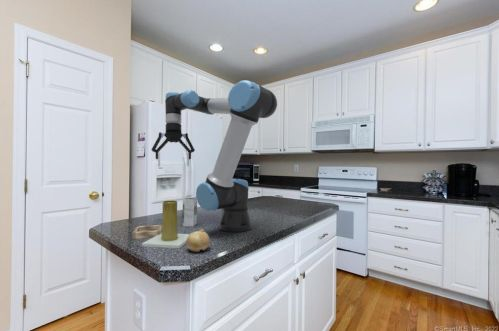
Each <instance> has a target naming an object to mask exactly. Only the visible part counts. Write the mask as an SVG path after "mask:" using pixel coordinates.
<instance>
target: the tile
mask: <svg viewBox="0 0 499 331" xmlns="http://www.w3.org/2000/svg"><path fill="white" fill-rule="evenodd" d="M190 234H191V233H189V234H188V233H178V238H177V239H176V240H172V241H163V240H162V239H161V236H162V233H161V235H157V236H155V237H153V238H148V239H147V240H146V241H144V242H142V243H141V247H145V248H146V247H147V248H148V247H149V248H150V247H151V248H163V249H164V248H165V249H180V248H181V247H183V246H184V245H186V244H187V243H186V240H187V238H188V236H189V235H190Z"/></svg>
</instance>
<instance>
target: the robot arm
mask: <svg viewBox="0 0 499 331" xmlns="http://www.w3.org/2000/svg"><path fill="white" fill-rule="evenodd" d="M164 103H165V104H164V105H165V123H166V124H165V132H164V133H162V132H159V133H158V136H157V138H156V141H155V142H154V144H153V146H152V148H151V151H152V152H153V153H155V159H156V160H157V163H158V164H157V166H158V167H161V152H160V151H161V150H162V149H163V148H164V147H165V146H166V145H167V144H168V143H175V144H176V143H179V144H180V145H181V146H182V147H183V149H185V151H186V166H187V167H189V166H190V160H191V159H192V153H194V152H195V151H196V150H195V148H194V146H193V144H192V142H191V140H190V138H189V133H182V111H184V110H192V111H193V112H199V113H202V114H206V115H214V114H222V115H223V114H224V115H229V116H231V119H230V122H229V125H228V127H227V130H226V134H225V136H224V139H223V142H222V145H221V146H220V150H219V153H218V156H217V159H216V162H215V164H214V168H213V171H212V172H211V173H209V174H207V177H206V179H205V181H204V182H202V183H200V184H199V185H197V188H196V192H195V195H196V198H197V204H198V205H199V206H200V208H201V209H202V210H204V211H207V212H208V211H212V212H215V211H217V210H221V209H223V211H222V215H221V218H220V221H219V225H218V226H219V227H218V228H219V229H220V230H221V231H223V232H229V233H230V232H231V233H238V232H239V233H240V232H247V231H250V230H252V227H253V226H252V221H251V220H252V219H251V218H250V214H249V182H248V181H247V180H245V179H241V178H234V175H235V172H236V170H237V167H238V164H239V163H240V160H241V156H242V154H243V151H244V149H245V147H246V144H247V140H248V139H249V135H250V132H251V130H252V127H253V126H255V125H256V124H258V122H259V120H260V119H266V118H269V117H272V116H273V114H275V112H276V110H277V107H278V99H277V97H276V95H275V94H274V92H273V91H271V90H269V89H268V88H266V87H263V86H262V85H260V84H258V83H256V82H254V81H252V80H251V81H250V80H247V79H244V80H240V81H239V82H236V83H234V85H233V86H232V87H231V88H230V91H229V92H228V96H227V97H218V98H217V97H216V98H215V97H214V98H212V97H211V98H210V97H209V98H206V97H203V96H199V94H198V93H197V91H196V90H193V89H189V90H184V91H183V92H181V93H179V92H176V91H169V92H167V93H166V94H165V102H164ZM164 137H165V139H164V141H162V143H161V144H160V145H159V143H160V142H161V140H162V138H164ZM182 138H183V139H185V140H186V143H187V144H188V146H187V144H186V143H185V142H184V141H183V140H182ZM158 145H159V146H158Z"/></svg>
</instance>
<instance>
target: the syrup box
mask: <svg viewBox="0 0 499 331" xmlns="http://www.w3.org/2000/svg"><path fill="white" fill-rule="evenodd" d="M181 219H182V220H181V222H182V223H181V226H182V227H183V228H184V227H187V228H188V227H191V228H192V227H193V228H194V227H195V226H196V225H197V224H198V223H197V222H198V220H197V219H198V201H197V198H196V194H195V195H194V194H187V195H184V196H183V197H182V218H181Z"/></svg>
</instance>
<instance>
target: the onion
mask: <svg viewBox="0 0 499 331" xmlns="http://www.w3.org/2000/svg"><path fill="white" fill-rule="evenodd" d="M189 234H190V235H189V236H188V238H187V240H186V243H185V244H186V246H187V249H188V250H189V251H191V252H195V253H199V252H201V251H205V250H207V248H208V247H209V245H210V243H211V239H210V236H209V234H208V233H207V232H206V231H205V229H202V228H201V227H200V228H199V230H197V231H196V230H195V231H192V232H191V233H189Z"/></svg>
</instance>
